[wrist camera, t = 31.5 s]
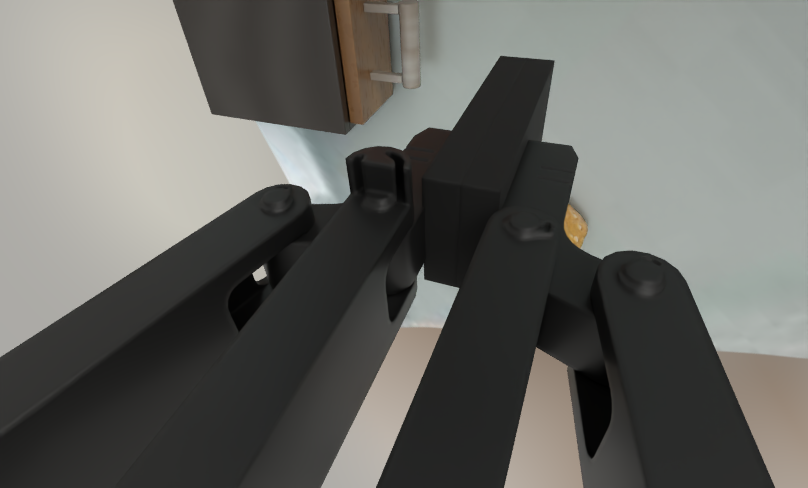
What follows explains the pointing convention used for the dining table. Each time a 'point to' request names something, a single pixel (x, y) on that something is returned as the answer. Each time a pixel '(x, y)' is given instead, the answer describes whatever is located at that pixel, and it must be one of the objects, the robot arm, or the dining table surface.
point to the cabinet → (268, 60)
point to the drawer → (375, 52)
